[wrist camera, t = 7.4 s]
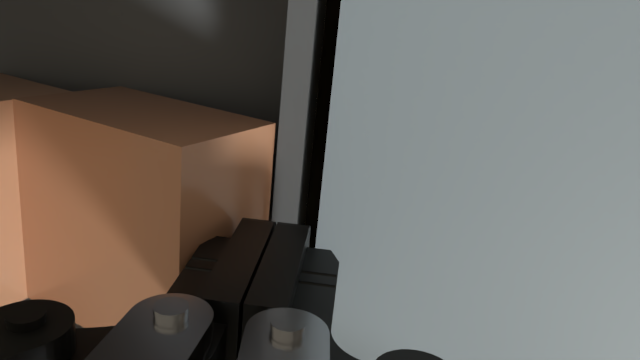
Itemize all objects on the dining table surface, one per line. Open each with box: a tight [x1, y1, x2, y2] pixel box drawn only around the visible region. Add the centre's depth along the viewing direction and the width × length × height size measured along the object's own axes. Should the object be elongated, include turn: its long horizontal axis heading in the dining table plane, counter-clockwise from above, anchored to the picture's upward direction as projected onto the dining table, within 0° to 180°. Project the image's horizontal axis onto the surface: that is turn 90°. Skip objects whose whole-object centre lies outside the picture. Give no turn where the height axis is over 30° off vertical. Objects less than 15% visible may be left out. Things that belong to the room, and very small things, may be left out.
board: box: [315, 0, 640, 360], centre depth 14 cm, size 16×16×3 cm
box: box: [0, 0, 327, 328], centre depth 14 cm, size 14×13×6 cm
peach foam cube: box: [12, 86, 276, 328], centre depth 13 cm, size 5×5×3 cm
